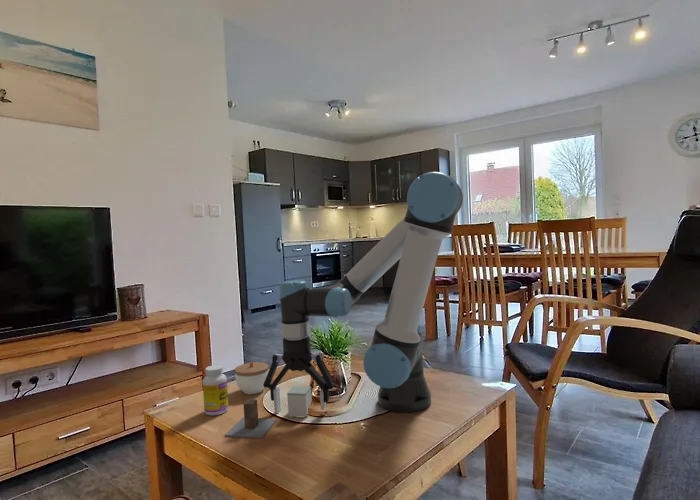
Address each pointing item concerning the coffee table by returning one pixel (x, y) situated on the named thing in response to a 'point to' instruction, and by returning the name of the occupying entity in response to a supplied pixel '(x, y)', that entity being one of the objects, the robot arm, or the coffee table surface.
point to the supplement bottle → (215, 391)
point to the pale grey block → (299, 400)
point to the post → (251, 414)
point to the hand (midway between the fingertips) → (300, 412)
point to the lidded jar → (251, 377)
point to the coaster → (258, 432)
